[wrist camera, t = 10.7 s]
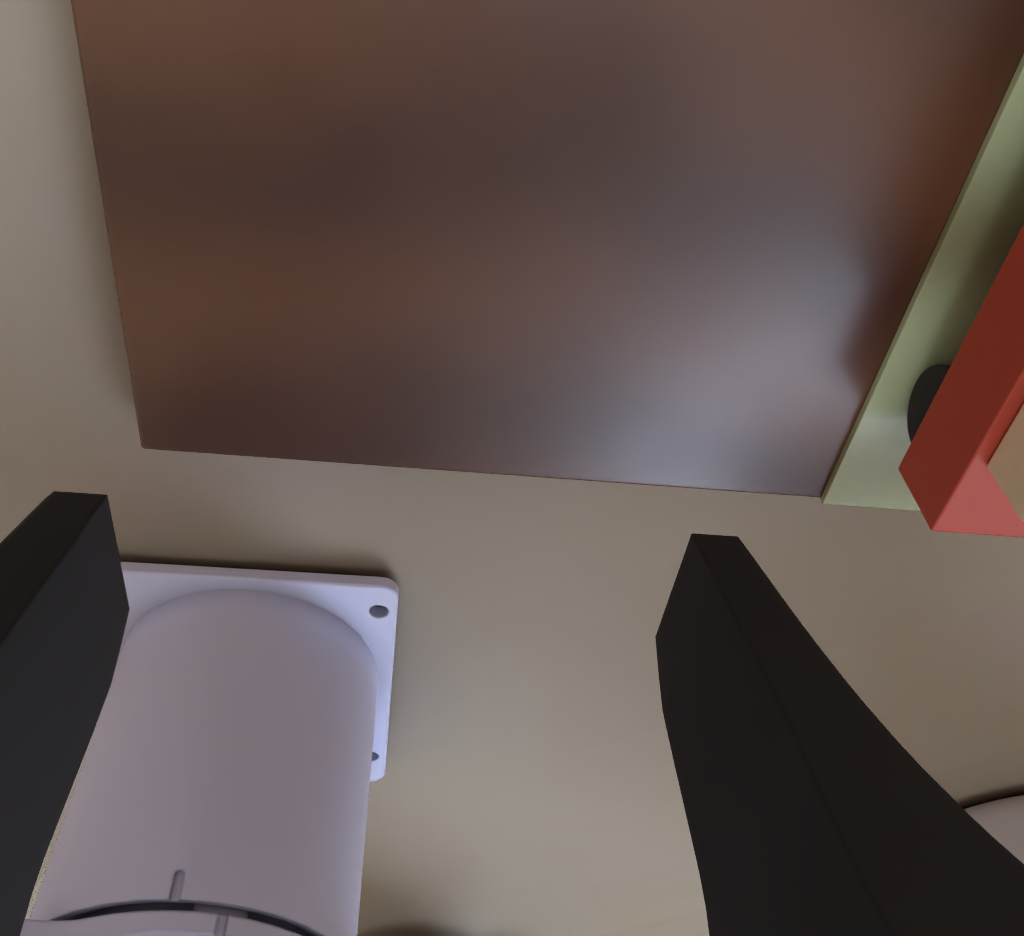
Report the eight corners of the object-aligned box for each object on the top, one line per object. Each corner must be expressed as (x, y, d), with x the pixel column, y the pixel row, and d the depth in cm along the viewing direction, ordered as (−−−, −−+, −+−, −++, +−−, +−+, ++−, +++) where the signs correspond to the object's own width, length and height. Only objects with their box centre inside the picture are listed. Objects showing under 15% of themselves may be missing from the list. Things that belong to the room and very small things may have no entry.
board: (1029, 488, 24) (1051, 520, 24) (151, 422, 22) (138, 455, 21) (1392, -76, 16) (1448, -61, 15) (48, -285, 14) (18, -281, 13)
